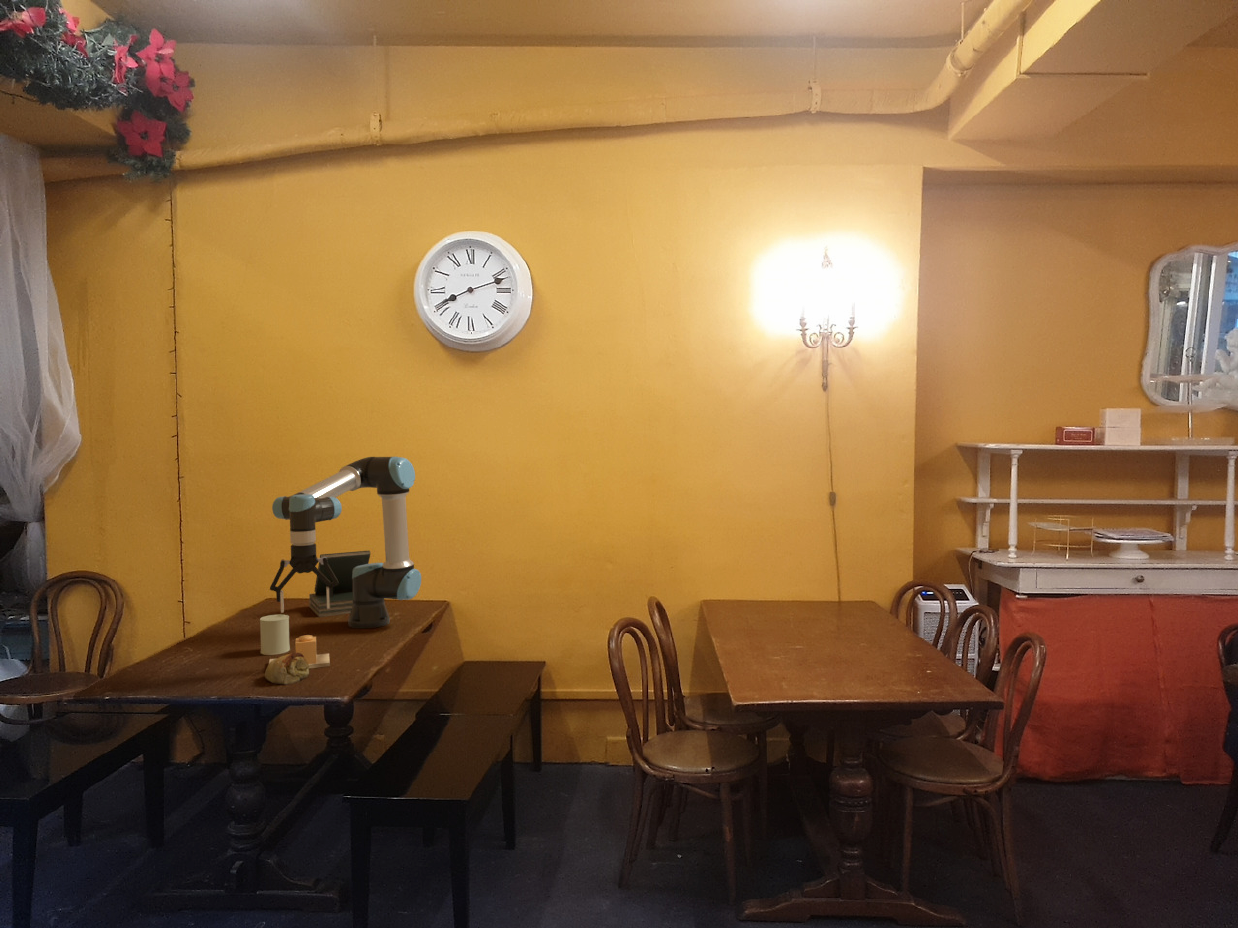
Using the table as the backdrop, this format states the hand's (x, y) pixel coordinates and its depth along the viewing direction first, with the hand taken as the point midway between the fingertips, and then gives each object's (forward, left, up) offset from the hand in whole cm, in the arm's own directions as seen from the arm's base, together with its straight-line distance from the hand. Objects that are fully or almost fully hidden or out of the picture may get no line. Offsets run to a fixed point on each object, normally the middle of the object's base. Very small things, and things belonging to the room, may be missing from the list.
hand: (305, 609), depth 254 cm
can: (+10, -21, -18) cm, 29 cm away
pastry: (+5, +12, -18) cm, 22 cm away
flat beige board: (+2, -1, -18) cm, 18 cm away
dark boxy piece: (-13, -78, -18) cm, 81 cm away
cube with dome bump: (0, 0, -17) cm, 17 cm away
